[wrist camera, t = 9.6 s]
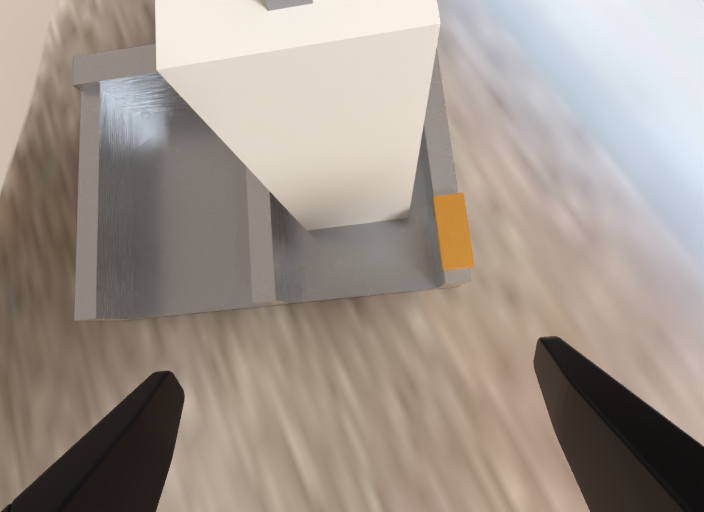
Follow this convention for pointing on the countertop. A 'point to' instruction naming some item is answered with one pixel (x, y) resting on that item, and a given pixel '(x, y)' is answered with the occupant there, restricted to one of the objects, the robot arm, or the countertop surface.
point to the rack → (231, 212)
